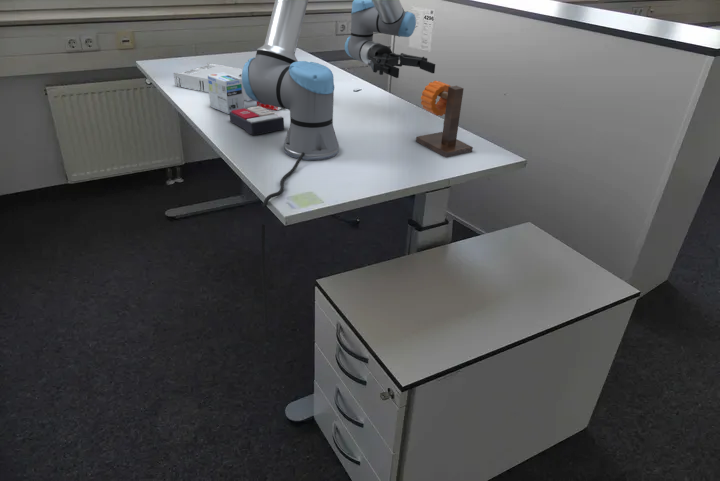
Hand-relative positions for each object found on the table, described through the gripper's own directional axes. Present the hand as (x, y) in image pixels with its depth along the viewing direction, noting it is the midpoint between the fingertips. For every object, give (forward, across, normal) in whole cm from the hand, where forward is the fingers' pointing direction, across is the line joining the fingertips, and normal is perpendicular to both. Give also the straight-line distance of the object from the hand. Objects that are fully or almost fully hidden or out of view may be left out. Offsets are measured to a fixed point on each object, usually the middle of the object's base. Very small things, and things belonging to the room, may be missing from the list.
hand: (416, 71), depth 168 cm
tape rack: (+16, 0, -18) cm, 24 cm away
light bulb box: (-42, +45, -18) cm, 64 cm away
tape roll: (+11, 0, -10) cm, 15 cm away
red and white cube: (-39, +29, -18) cm, 52 cm away
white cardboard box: (-66, +36, -18) cm, 77 cm away
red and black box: (-23, +42, -18) cm, 52 cm away
